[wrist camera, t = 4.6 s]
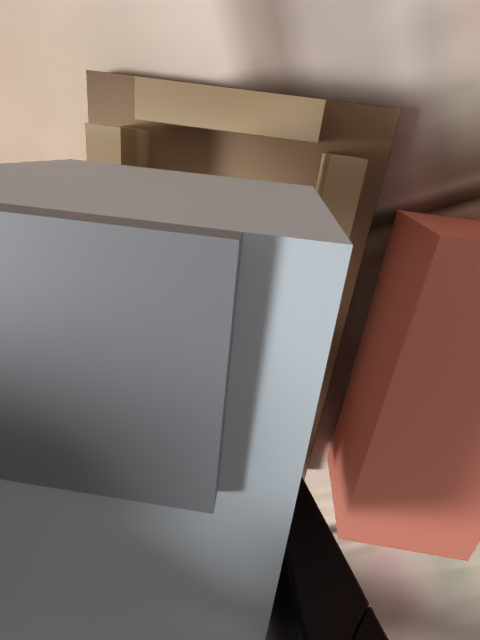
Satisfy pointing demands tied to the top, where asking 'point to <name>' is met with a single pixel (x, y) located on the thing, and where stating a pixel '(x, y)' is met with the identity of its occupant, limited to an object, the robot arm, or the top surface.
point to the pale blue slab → (155, 395)
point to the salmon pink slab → (415, 397)
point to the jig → (251, 150)
